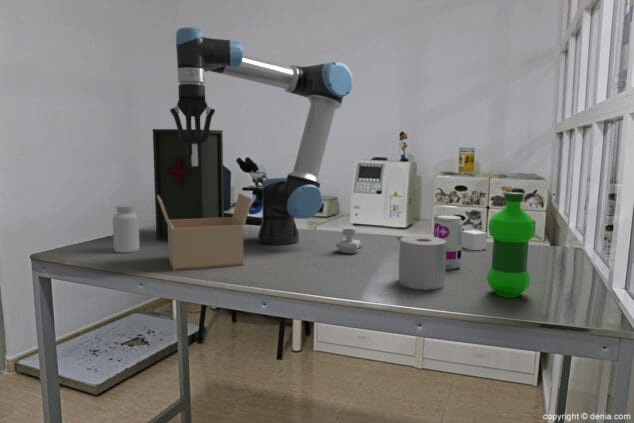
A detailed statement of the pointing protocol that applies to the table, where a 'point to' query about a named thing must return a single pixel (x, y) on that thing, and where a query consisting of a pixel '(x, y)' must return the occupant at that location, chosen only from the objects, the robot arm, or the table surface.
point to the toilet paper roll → (422, 262)
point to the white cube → (474, 240)
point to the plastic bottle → (510, 247)
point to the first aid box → (187, 178)
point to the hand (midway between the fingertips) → (194, 165)
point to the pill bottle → (126, 229)
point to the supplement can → (450, 238)
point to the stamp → (349, 241)
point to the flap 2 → (242, 208)
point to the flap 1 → (164, 212)
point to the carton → (205, 243)
